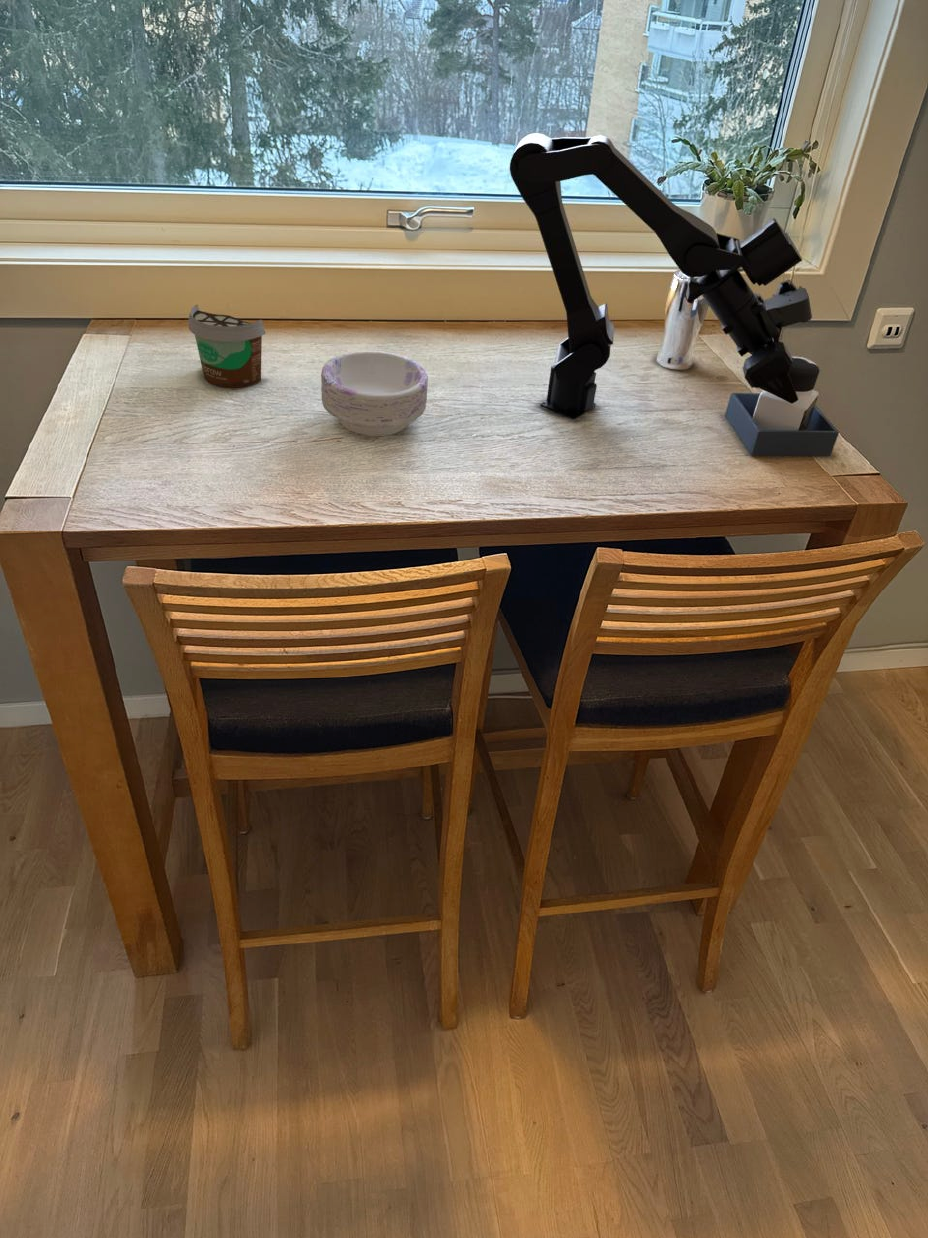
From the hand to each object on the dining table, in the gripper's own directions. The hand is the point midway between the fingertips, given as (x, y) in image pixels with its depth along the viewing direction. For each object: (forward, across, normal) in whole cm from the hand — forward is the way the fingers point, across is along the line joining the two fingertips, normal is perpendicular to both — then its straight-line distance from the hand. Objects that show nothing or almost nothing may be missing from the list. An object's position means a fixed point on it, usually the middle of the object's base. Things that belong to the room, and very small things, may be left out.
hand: (791, 387), depth 133 cm
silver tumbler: (-5, +23, +16) cm, 28 cm away
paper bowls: (-37, -13, +48) cm, 62 cm away
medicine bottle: (+6, 0, +6) cm, 8 cm away
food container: (-55, -7, +66) cm, 86 cm away
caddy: (+6, 0, +6) cm, 8 cm away
